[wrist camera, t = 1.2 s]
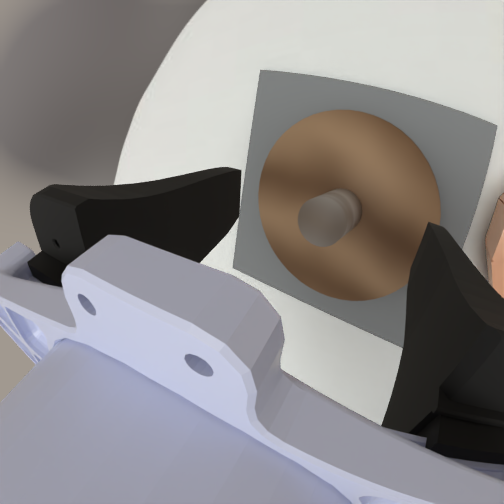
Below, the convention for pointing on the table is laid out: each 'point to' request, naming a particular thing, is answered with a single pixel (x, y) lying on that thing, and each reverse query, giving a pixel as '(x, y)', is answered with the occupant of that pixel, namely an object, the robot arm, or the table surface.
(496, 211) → the bowl
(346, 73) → the table surface
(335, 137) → the lid
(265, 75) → the mat
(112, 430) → the robot arm
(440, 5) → the table surface
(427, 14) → the table surface
